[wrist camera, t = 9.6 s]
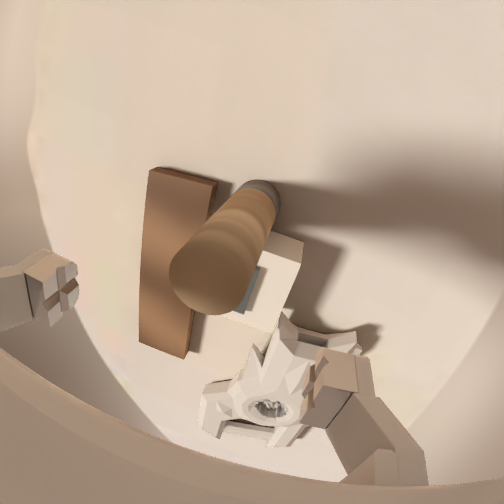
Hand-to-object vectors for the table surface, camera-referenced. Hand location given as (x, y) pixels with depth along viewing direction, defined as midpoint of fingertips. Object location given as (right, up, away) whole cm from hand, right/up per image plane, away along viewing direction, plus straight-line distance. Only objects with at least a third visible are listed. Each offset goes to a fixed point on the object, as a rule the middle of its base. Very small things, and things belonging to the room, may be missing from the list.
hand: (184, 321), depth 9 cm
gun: (+3, -9, +16) cm, 19 cm away
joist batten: (-3, +1, +12) cm, 13 cm away
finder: (+2, +1, +11) cm, 11 cm away
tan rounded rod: (+2, +5, +9) cm, 10 cm away
